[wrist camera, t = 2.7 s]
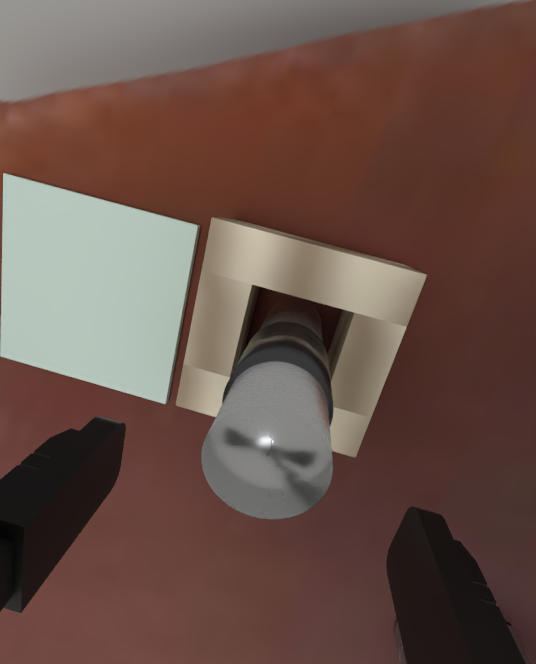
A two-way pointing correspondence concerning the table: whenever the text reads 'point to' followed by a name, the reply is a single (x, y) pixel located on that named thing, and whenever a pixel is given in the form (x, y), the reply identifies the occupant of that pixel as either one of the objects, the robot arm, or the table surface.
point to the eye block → (308, 283)
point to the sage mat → (93, 287)
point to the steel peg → (275, 419)
